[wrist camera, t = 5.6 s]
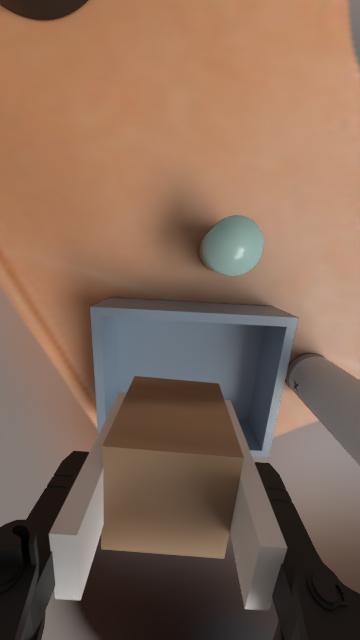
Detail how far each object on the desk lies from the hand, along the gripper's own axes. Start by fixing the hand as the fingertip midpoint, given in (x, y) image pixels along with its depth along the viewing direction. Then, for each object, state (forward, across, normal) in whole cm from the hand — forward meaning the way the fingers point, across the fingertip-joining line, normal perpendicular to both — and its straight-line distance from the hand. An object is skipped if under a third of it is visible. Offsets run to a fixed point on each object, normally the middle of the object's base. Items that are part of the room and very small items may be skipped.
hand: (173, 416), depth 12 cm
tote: (+16, +2, -4) cm, 17 cm away
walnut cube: (0, 0, 0) cm, 1 cm away
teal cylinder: (+15, +4, +11) cm, 20 cm away
